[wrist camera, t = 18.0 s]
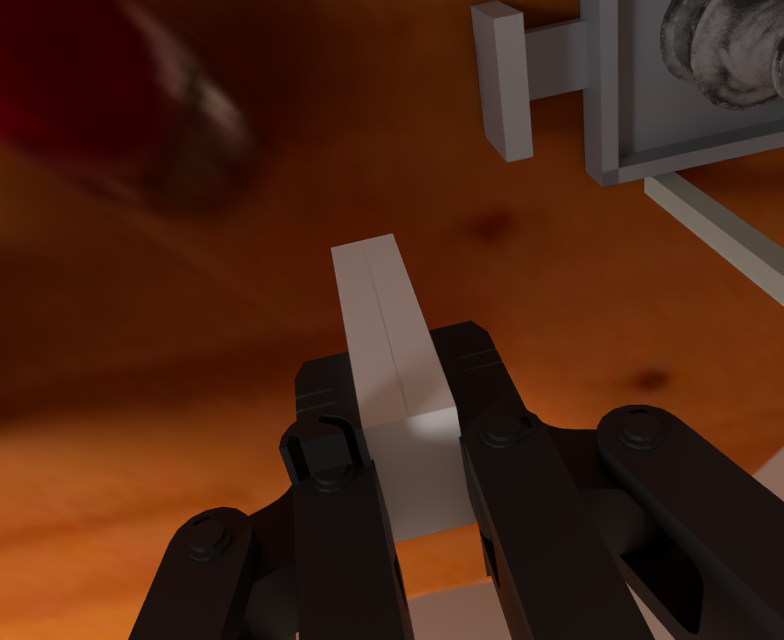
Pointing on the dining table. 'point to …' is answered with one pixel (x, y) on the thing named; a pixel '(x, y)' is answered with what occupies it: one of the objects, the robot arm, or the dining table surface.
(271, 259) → the dining table surface
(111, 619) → the dining table surface
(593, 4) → the tray
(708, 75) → the dark grey tall piece
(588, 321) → the dining table surface
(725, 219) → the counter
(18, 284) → the dining table surface
